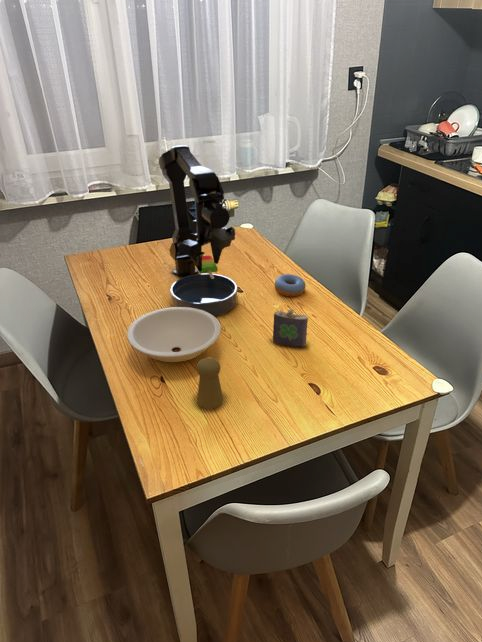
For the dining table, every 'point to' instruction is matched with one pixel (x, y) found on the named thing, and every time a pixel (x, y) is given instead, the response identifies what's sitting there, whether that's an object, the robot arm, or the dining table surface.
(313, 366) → the dining table surface
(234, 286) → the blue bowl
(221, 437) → the dining table surface
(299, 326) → the flask
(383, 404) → the dining table surface
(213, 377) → the brown game pawn
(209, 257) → the popsicle
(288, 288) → the doughnut
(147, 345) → the grey bowl
